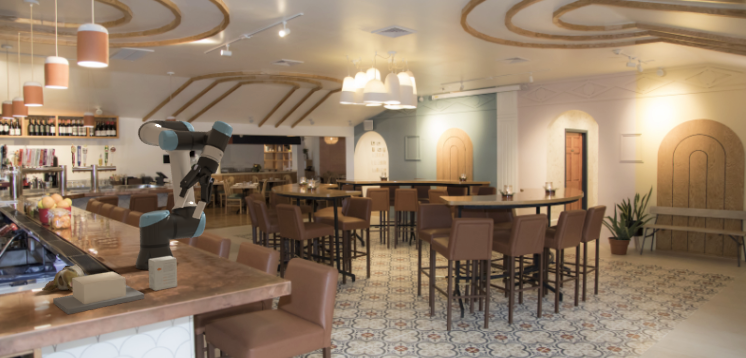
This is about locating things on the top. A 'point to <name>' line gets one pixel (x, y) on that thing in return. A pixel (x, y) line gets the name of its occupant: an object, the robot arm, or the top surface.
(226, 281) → the top surface
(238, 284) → the top surface
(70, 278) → the ceramic sculpture
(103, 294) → the pedestal
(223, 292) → the top surface
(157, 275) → the small box
